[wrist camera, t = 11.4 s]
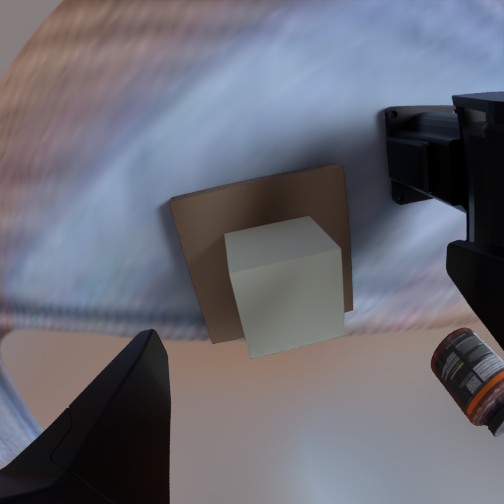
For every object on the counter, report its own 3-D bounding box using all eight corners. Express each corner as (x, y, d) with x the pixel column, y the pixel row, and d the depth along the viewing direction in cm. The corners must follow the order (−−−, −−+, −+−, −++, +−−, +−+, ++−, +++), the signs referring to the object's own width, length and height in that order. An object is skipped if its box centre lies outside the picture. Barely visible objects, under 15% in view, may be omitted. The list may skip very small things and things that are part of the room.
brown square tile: (335, 163, 19) (343, 166, 17) (346, 301, 23) (353, 310, 22) (171, 197, 18) (169, 202, 17) (212, 333, 22) (212, 343, 21)
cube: (309, 215, 18) (341, 248, 14) (317, 288, 20) (344, 335, 16) (224, 233, 18) (229, 273, 14) (241, 306, 20) (250, 358, 16)
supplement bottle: (460, 363, 29) (513, 430, 18) (421, 376, 28) (474, 454, 18) (478, 320, 26) (544, 386, 16) (438, 330, 26) (507, 411, 15)
